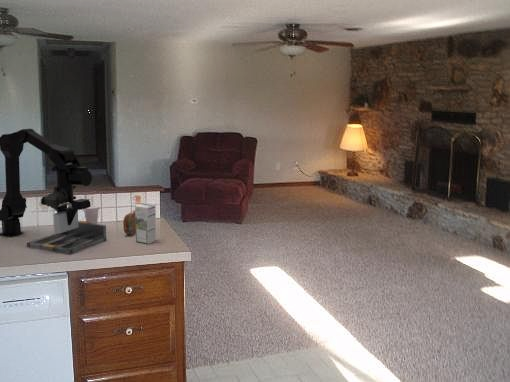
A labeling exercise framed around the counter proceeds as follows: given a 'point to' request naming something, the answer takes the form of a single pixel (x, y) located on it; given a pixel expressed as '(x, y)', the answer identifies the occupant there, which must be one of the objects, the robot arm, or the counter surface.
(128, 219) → the tin
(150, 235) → the syrup box
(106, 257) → the counter surface
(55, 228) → the panel
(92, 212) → the smoothie
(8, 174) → the robot arm
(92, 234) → the rack
